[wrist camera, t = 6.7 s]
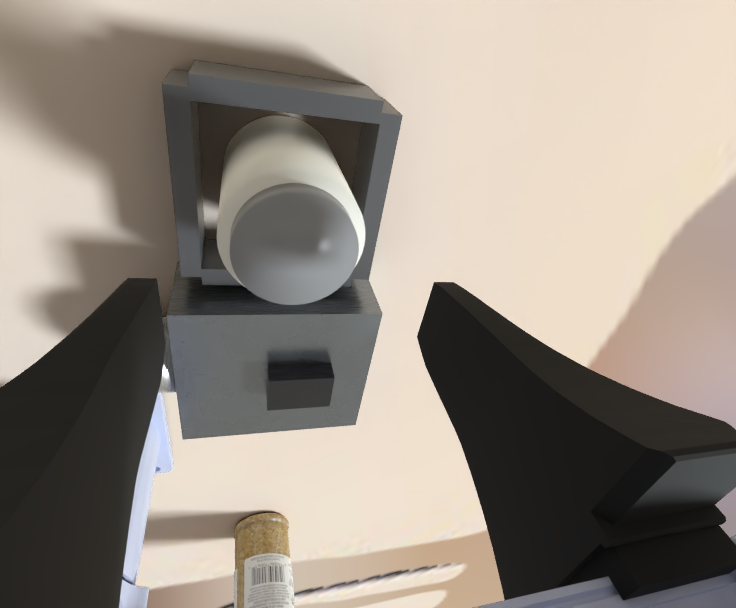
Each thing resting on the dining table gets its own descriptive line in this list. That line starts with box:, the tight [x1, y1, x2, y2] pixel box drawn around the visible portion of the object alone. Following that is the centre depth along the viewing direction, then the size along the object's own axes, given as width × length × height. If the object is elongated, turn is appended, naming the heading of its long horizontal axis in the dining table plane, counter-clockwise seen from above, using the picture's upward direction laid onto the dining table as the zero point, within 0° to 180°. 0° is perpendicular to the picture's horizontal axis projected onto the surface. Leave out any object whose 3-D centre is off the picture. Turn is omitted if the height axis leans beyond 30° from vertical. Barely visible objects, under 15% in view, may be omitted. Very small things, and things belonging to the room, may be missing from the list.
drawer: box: [158, 262, 382, 439], centre depth 21 cm, size 11×8×5 cm
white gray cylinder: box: [217, 115, 365, 305], centre depth 16 cm, size 5×5×7 cm
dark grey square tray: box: [162, 60, 402, 286], centre depth 18 cm, size 8×9×2 cm
